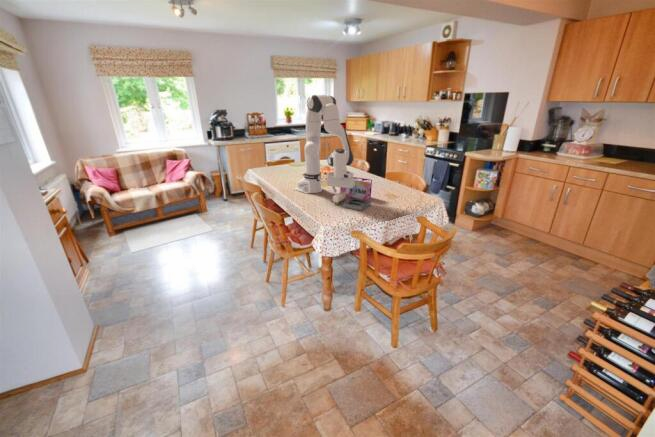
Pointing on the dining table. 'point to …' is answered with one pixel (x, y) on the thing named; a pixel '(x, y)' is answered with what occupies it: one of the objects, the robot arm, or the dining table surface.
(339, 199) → the beige block
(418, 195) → the dining table surface
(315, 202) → the dining table surface
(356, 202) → the keyhole plate
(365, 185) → the gum box
